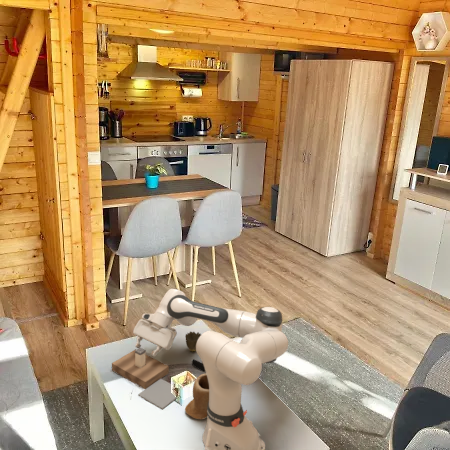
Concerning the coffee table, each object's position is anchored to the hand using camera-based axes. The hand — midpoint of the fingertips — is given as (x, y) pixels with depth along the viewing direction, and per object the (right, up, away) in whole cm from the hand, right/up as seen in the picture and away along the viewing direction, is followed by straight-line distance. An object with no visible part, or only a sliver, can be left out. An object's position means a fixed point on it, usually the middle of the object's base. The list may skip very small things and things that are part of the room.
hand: (144, 351), depth 197 cm
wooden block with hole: (-2, -9, 0) cm, 9 cm away
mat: (+9, -13, -13) cm, 21 cm away
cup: (+19, -4, +17) cm, 26 cm away
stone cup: (+27, -17, -20) cm, 38 cm away
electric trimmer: (+27, -10, +3) cm, 28 cm away
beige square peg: (-2, -9, 0) cm, 9 cm away
